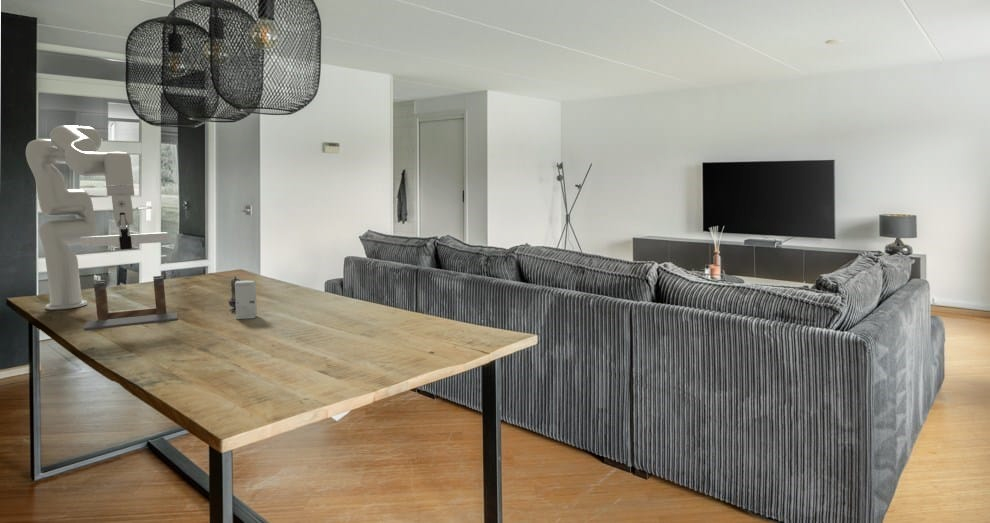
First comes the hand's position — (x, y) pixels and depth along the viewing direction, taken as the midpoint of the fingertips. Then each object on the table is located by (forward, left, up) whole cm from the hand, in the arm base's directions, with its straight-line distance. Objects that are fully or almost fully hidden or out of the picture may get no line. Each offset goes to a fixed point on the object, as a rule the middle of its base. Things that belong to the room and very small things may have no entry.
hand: (126, 248), depth 202 cm
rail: (0, 0, +1) cm, 1 cm away
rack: (-6, +4, -24) cm, 25 cm away
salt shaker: (+18, +27, -24) cm, 40 cm away
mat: (+2, -1, -24) cm, 24 cm away
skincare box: (+31, +21, -24) cm, 44 cm away
